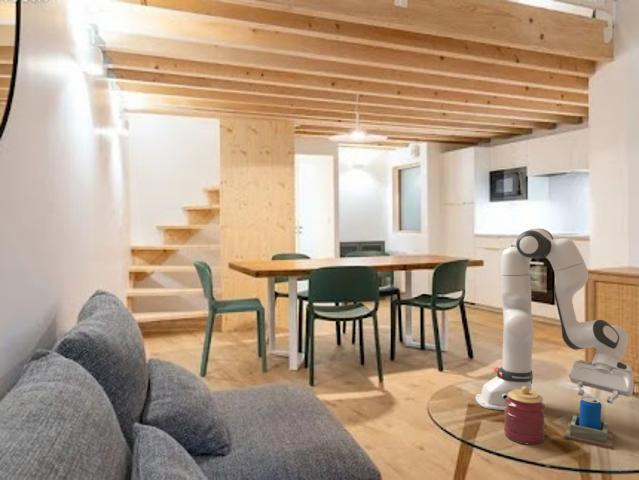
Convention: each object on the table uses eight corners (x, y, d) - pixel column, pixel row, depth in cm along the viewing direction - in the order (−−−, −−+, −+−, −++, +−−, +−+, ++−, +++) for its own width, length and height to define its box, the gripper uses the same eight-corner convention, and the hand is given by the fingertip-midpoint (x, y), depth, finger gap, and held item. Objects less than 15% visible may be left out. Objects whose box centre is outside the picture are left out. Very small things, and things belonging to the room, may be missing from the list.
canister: (507, 425, 179) (508, 377, 178) (546, 434, 172) (548, 384, 172) (500, 439, 168) (502, 388, 167) (541, 448, 161) (543, 395, 160)
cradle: (611, 449, 162) (612, 435, 161) (564, 438, 169) (564, 425, 169) (613, 433, 173) (613, 421, 173) (568, 424, 181) (569, 412, 181)
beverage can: (599, 439, 167) (601, 404, 166) (578, 434, 170) (579, 400, 169) (600, 432, 172) (602, 398, 171) (580, 427, 175) (581, 394, 175)
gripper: (573, 354, 186) (561, 385, 180) (635, 367, 171) (624, 402, 165) (577, 364, 189) (566, 394, 183) (638, 377, 174) (628, 412, 168)
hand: (594, 398), depth 174 cm, fingers open, 8 cm apart
